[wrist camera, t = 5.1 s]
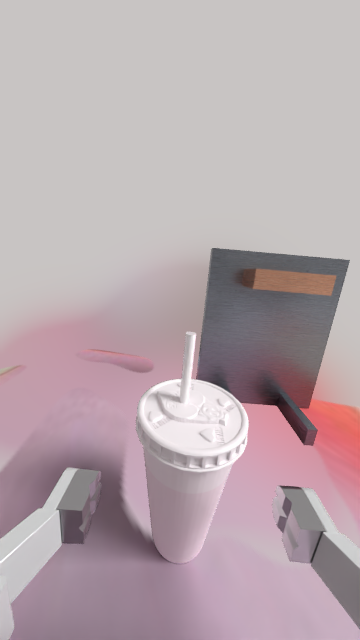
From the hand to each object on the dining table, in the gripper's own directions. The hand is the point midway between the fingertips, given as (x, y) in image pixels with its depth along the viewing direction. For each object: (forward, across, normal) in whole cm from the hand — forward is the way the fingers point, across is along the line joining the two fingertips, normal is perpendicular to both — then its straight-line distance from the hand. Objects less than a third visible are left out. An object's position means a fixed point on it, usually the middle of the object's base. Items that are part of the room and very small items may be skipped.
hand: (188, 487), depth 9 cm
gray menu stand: (+14, -10, +8) cm, 19 cm away
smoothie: (+3, 0, +8) cm, 8 cm away
